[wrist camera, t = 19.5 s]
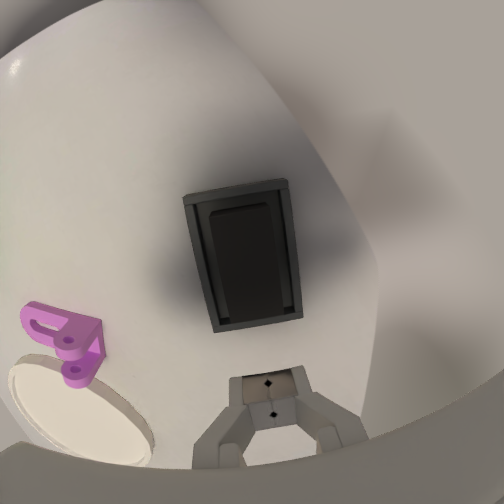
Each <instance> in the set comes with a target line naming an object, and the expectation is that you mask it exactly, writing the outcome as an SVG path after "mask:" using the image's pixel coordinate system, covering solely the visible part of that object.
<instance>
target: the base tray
mask: <svg viewBox="0 0 504 504" xmlns="http://www.w3.org/2000/svg"><path fill="white" fill-rule="evenodd" d="M264 202H266V203H267V205H268V206H269V207H270V211H271V218H272V225H273V232H274V239H275V246H276V253H277V260H278V268H279V275H280V283H281V291H282V298H283V306H284V315H280V316H274V317H269V318H263V319H257V320H251V321H245V322H239V323H233V324H231V321H230V317H229V313H228V308H227V304H226V299H225V295H224V290H223V286H222V281H221V276H220V272H219V267H218V262H217V257H216V253H215V248H214V243H213V238H212V233H211V228H210V223H209V216H210V214H211V212H212V211H217V210H222V209H228V208H234V207H240V206H246V205H252V204H258V203H264ZM183 203H184V208H185V213H186V218H187V223H188V228H189V232H190V237H191V242H192V246H193V251H194V255H195V259H196V264H197V268H198V272H199V276H200V280H201V285H202V289H203V293H204V297H205V301H206V304H207V308H208V312H209V316H210V320H211V323H212V327H213V331H214V333H218V332H225V331H232V330H238V329H245V328H251V327H257V326H262V325H268V324H274V323H279V322H284V321H289V320H295V319H300V318H303V307H302V296H301V286H300V276H299V266H298V257H297V248H296V240H295V231H294V223H293V216H292V208H291V200H290V193H289V186H288V180H287V179H284V178H281V179H274V180H267V181H261V182H254V183H248V184H242V185H236V186H231V187H225V188H219V189H214V190H209V191H203V192H198V193H193V194H188V195H185V196H184V197H183Z"/></svg>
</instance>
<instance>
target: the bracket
mask: <svg viewBox="0 0 504 504" xmlns="http://www.w3.org/2000/svg"><path fill="white" fill-rule="evenodd" d="M20 319H21V323H22V325H23V328H24V329H25V331H26V332H27V334H28V335H29V336H30V337H31V338H32V339H33V340H35V341H36V342H39V343H41V344H44V345H47V346H49V347H52V348H55V351H56V354H57V356H58V357H59V358H60V359H62V360H65V362H64V363H63V365H62V366H61V373H62V376H63V379H64V382H65V383H66V385H68V386H69V387H71V388H74V389H81V388H85V387H87V386H88V385H89V384H90V383H91V382H92V380H93V378H94V376H95V374H96V373H97V371H98V369H99V367H100V365H101V364H102V362H103V360H104V358H105V357H106V355H105V348H104V341H103V333H102V325H101V319H96V318H92V317H88V316H84V315H80V314H76V313H73V312H69V311H65V310H62V309H58V308H54V307H51V306H48V305H44V304H41V303H38V302H29V303H28V304H27V305H26V306H24V307H23V308H22V309H21V312H20ZM36 321H39V322H42V323H45V324H48V325H51V326H55V327H57V328H58V329H59V332H57V331H54V330H51V329H48V328H45V327H42V326H40V325H38V324H37V322H36Z"/></svg>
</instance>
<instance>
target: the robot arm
mask: <svg viewBox="0 0 504 504" xmlns="http://www.w3.org/2000/svg"><path fill="white" fill-rule="evenodd" d="M294 424H297V425H298V426H299V427H300V428H302V429H303V430H304V431H305V432H306V433H307V434H309V435H310V436H311V437H312V438H313V439H314V440H316V441H317V449H316V455H312V456H308V457H303V458H299V459H294V460H288V461H282V462H276V463H270V464H263V465H255V466H247V465H246V462H245V460H244V458H243V453H244V451H245V450H246V448H247V446H248V444H249V443H250V441H251V439H252V437H253V436H254V434H255V431H259V430H265V429H270V428H275V427H282V426H288V425H294ZM0 504H504V369H503V370H502V371H501V372H499V373H498V374H496V375H495V376H493V377H492V378H491V379H489V380H488V381H486V382H485V383H483V384H482V385H480V386H478V387H477V388H475V389H474V390H472V391H470V392H469V393H467V394H466V395H464V396H462V397H460V398H459V399H457V400H455V401H453V402H452V403H450V404H448V405H446V406H444V407H442V408H441V409H439V410H437V411H435V412H433V413H431V414H429V415H427V416H424V417H422V418H420V419H418V420H416V421H414V422H411V423H409V424H407V425H405V426H403V427H400V428H397V429H395V430H393V431H390V432H387V433H385V434H383V435H379V436H377V437H374V438H371V439H369V438H368V436H367V433H366V431H365V429H364V427H363V424H362V423H361V420H360V418H359V416H357V415H355V414H353V413H352V412H350V411H348V410H346V409H344V408H343V407H341V406H339V405H338V404H336V403H334V402H333V401H331V400H329V399H327V398H326V397H324V396H323V395H321V394H319V393H318V392H312V389H311V386H310V383H309V380H308V377H307V374H306V372H305V369H304V366H303V365H302V366H297V367H293V368H291V369H290V368H289V369H284V370H279V371H273V372H268V373H262V374H255V375H247V376H242V377H232V378H230V379H229V407H225V409H224V410H223V411H222V412H221V413H220V415H219V416H218V417H217V418H216V419H215V421H214V422H213V423H212V424H211V425H210V427H209V428H208V429H207V430H206V431H205V432H204V434H203V435H202V436H201V437H200V438H199V439H198V440H197V442H196V443H195V444H194V449H193V460H192V469H160V468H146V467H136V466H127V465H119V464H112V463H106V462H100V461H95V460H90V459H85V458H80V457H76V456H72V455H68V454H64V453H60V452H56V451H53V450H49V449H46V448H43V447H40V446H37V445H34V444H31V443H28V442H25V441H20V442H18V443H16V444H14V445H12V446H10V447H8V448H7V449H5V450H3V451H2V452H0Z"/></svg>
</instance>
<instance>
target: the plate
mask: <svg viewBox="0 0 504 504" xmlns="http://www.w3.org/2000/svg"><path fill="white" fill-rule="evenodd" d="M64 362H65V361H62V360H59V359H56V358H53V357H50V356H47V355H35V354H30V355H27V356H24V357H22V358H20V359H19V360H18V362H17V363H16V364H15V365H14V366H13V368H12V369H11V371H10V372H9V374H8V386H9V389H10V393H11V396H12V398H13V400H14V402H15V403H16V405H17V407H18V409H19V410H20V412H21V413H22V414H23V416H24V417H25V418H26V419H27V421H28V422H29V423H30V424H31V425H32V426H33V427H34V428H35V429H36V430H37V431H38V432H39V433H40V434H41V435H42V436H43V437H45V438H46V439H47V440H48V441H50V442H51V443H52V444H54V445H55V446H57V447H58V448H60V449H61V450H63V451H64V452H66V453H68V454H69V455H72V456H76V457H80V458H85V459H90V460H95V461H100V462H106V463H112V464H119V465H127V466H136V467H144V466H145V465H146V464H148V463H149V461H150V458H151V455H152V451H153V446H154V441H153V436H152V432H151V430H150V429H149V427H148V425H147V424H146V422H145V420H144V419H143V417H142V416H141V415H140V414H139V413H138V412H137V411H136V410H135V409H134V408H133V407H132V406H131V405H130V404H129V403H128V402H127V401H126V400H124V399H123V398H122V397H121V396H119V395H118V394H117V393H116V392H115V391H113V390H112V389H111V388H110V387H108V386H107V385H105V384H104V383H102V382H101V381H99V380H97V379H96V378H93V380H92V382H91V383H90V384H89V385H88V386H87V387H85V388H81V389H74V388H71V387H69V386H68V385H66V383H65V382H64V379H63V376H62V373H61V366H62V365H63V363H64Z"/></svg>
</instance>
